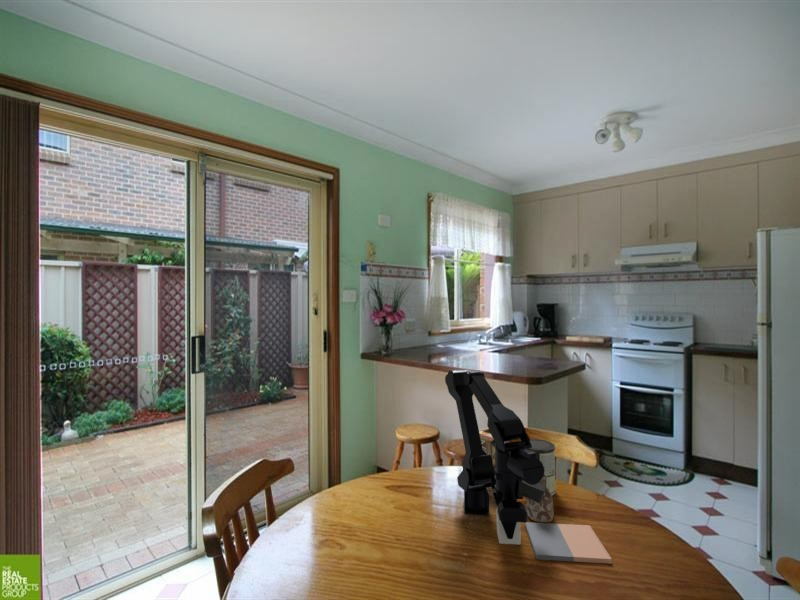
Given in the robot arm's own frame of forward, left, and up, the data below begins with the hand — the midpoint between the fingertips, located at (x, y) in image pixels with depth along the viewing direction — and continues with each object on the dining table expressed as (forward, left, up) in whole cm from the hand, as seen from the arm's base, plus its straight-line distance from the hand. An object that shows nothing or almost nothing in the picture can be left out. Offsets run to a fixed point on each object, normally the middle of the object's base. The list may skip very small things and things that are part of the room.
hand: (508, 532), depth 100 cm
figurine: (+10, +12, -2) cm, 16 cm away
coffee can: (+13, +28, -2) cm, 31 cm away
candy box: (-2, +32, -2) cm, 32 cm away
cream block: (0, 0, -1) cm, 1 cm away
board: (+13, -1, -1) cm, 13 cm away
